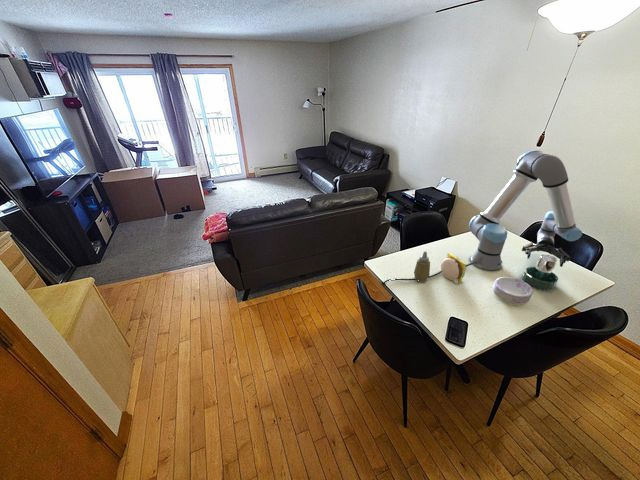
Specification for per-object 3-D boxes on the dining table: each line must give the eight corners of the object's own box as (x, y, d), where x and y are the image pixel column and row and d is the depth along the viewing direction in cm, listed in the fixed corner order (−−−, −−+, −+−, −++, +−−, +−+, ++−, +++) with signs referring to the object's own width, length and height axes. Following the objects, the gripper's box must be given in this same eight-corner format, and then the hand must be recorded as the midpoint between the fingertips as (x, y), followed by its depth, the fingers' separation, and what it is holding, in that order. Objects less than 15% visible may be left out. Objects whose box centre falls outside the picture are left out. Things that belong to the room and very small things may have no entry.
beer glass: (549, 286, 134) (560, 262, 126) (533, 285, 135) (544, 261, 128) (542, 278, 140) (552, 254, 132) (527, 277, 141) (537, 253, 134)
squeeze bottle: (410, 279, 145) (414, 252, 136) (416, 273, 150) (421, 246, 141) (424, 285, 140) (429, 257, 131) (430, 278, 145) (436, 250, 136)
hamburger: (436, 273, 149) (439, 255, 143) (448, 269, 151) (452, 252, 146) (452, 285, 139) (456, 266, 133) (464, 281, 141) (469, 263, 136)
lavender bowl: (483, 292, 133) (487, 279, 130) (507, 285, 137) (512, 273, 133) (510, 312, 121) (515, 299, 117) (535, 305, 124) (542, 292, 120)
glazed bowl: (528, 289, 133) (532, 281, 131) (517, 274, 145) (520, 265, 142) (559, 292, 131) (564, 283, 128) (545, 276, 142) (549, 267, 139)
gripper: (571, 254, 146) (573, 274, 131) (517, 243, 159) (513, 259, 145) (577, 243, 142) (580, 261, 127) (521, 232, 156) (518, 247, 141)
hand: (544, 260), depth 136 cm, fingers open, 13 cm apart
